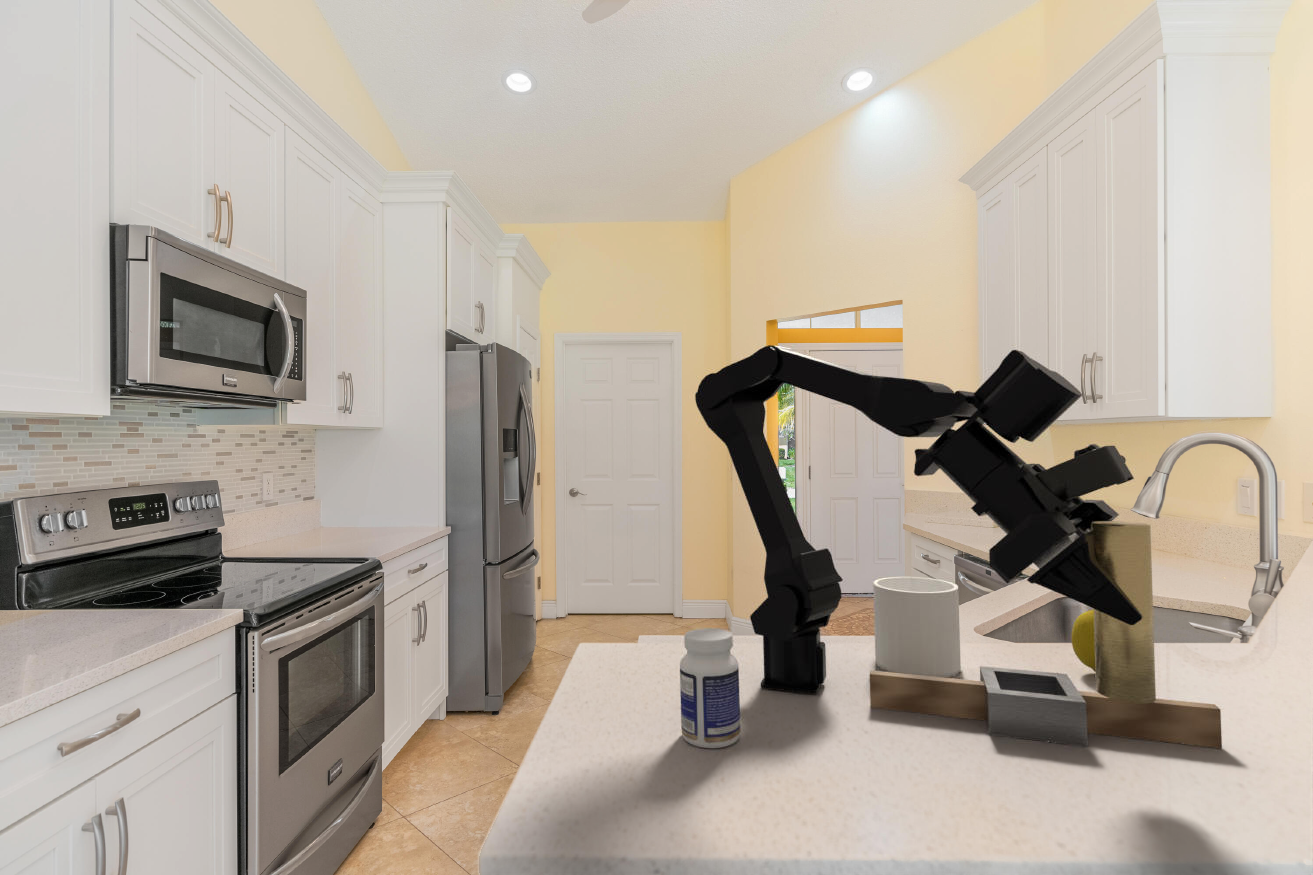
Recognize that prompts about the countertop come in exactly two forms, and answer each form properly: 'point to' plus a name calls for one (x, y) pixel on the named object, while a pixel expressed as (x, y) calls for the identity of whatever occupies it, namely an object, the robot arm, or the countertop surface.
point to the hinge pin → (1117, 644)
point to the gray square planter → (1034, 706)
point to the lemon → (1084, 638)
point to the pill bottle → (709, 689)
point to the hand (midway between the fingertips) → (1143, 616)
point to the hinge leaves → (1102, 712)
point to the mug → (917, 626)
